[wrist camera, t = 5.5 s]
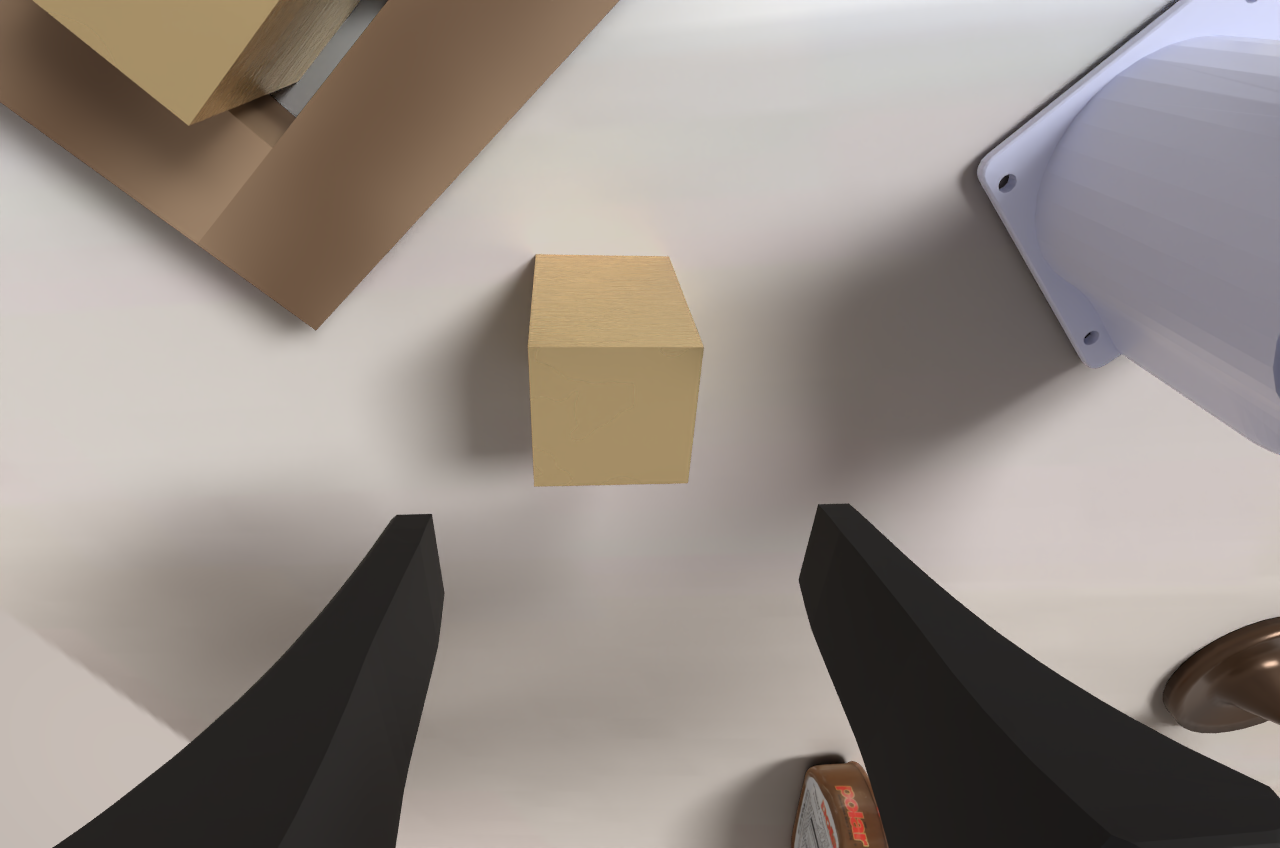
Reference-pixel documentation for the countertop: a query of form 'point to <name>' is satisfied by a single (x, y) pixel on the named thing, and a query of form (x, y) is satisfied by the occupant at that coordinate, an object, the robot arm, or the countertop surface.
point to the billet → (205, 45)
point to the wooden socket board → (302, 134)
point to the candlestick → (1229, 682)
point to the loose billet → (611, 371)
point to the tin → (837, 810)
